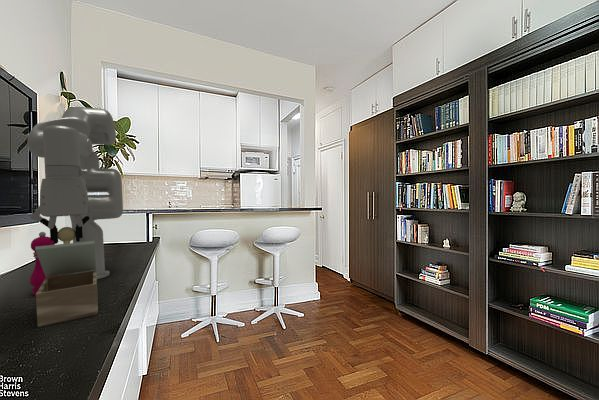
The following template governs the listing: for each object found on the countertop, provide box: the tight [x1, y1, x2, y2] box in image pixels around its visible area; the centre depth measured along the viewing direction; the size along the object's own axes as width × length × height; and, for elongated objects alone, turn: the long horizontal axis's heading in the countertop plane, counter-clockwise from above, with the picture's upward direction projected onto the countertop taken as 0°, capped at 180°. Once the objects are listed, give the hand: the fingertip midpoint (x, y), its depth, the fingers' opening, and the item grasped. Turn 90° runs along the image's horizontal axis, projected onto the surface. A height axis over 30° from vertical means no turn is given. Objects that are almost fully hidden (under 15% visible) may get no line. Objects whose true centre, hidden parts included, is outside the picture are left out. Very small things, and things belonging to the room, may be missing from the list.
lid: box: [35, 226, 96, 277], centre depth 84 cm, size 18×12×6 cm
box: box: [35, 270, 99, 328], centre depth 82 cm, size 18×12×8 cm, turn 35°
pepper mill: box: [29, 231, 60, 297], centre depth 98 cm, size 7×7×20 cm
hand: (67, 241), depth 80 cm, fingers closed on lid, 4 cm apart
